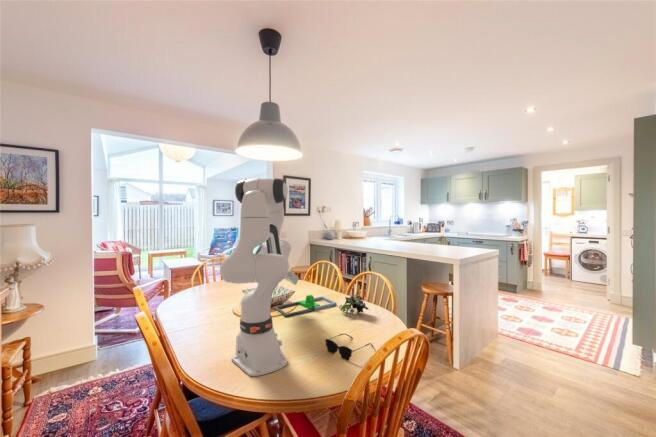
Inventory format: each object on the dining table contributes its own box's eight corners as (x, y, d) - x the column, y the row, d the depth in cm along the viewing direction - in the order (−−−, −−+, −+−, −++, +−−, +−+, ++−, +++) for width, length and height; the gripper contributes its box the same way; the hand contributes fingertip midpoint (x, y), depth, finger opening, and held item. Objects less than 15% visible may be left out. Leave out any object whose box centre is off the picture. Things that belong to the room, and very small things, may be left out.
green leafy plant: (358, 323, 151) (373, 305, 149) (348, 327, 141) (364, 307, 138) (342, 306, 158) (356, 289, 155) (332, 309, 147) (347, 290, 145)
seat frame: (314, 310, 155) (314, 308, 155) (285, 317, 145) (285, 315, 145) (301, 302, 168) (301, 300, 168) (273, 308, 158) (273, 306, 158)
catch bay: (336, 305, 163) (336, 302, 163) (314, 310, 155) (314, 307, 155) (322, 298, 176) (322, 296, 176) (301, 303, 168) (301, 300, 168)
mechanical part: (319, 308, 159) (319, 294, 159) (311, 310, 155) (311, 296, 155) (307, 303, 168) (307, 290, 168) (299, 305, 164) (299, 291, 164)
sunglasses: (324, 351, 110) (324, 338, 110) (349, 339, 122) (350, 328, 122) (351, 363, 101) (351, 350, 101) (375, 350, 112) (376, 338, 113)
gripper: (290, 266, 143) (307, 282, 148) (275, 261, 160) (290, 276, 165) (282, 275, 141) (300, 291, 146) (268, 269, 158) (284, 284, 163)
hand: (295, 283), depth 156 cm, fingers closed
